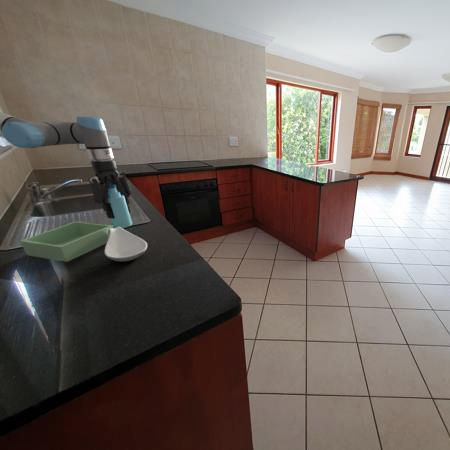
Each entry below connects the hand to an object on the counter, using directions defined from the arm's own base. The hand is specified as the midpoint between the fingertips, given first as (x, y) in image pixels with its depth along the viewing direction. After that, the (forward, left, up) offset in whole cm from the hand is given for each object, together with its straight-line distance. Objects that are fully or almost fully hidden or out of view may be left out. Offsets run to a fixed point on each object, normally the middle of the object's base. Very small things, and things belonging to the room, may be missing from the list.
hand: (119, 214), depth 101 cm
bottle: (0, 0, -5) cm, 5 cm away
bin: (-1, -19, -6) cm, 20 cm away
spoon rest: (+19, -17, -6) cm, 26 cm away
